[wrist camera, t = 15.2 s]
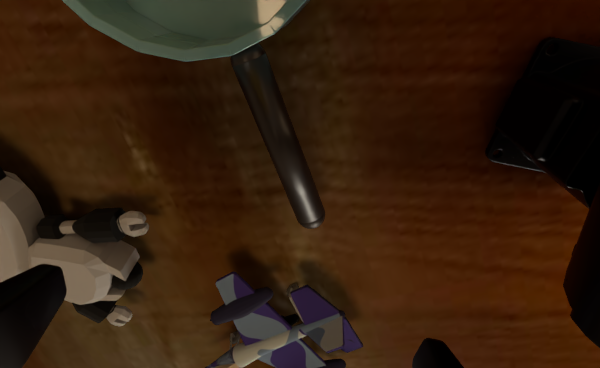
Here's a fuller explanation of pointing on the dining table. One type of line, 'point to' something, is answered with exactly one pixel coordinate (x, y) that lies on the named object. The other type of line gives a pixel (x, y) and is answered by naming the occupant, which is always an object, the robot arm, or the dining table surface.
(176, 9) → the pan
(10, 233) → the robot toy
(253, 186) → the dining table surface
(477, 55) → the dining table surface
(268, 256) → the dining table surface
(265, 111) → the pan handle
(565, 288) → the robot arm
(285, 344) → the toy airplane
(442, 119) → the dining table surface
